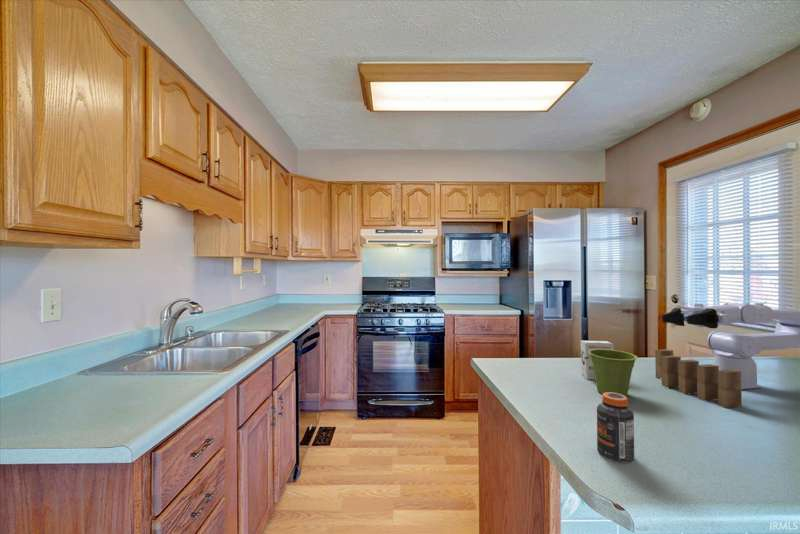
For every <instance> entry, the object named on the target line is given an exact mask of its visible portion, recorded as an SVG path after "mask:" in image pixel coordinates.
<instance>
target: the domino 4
mask: <svg viewBox="0 0 800 534" xmlns="http://www.w3.org/2000/svg"><path fill="white" fill-rule="evenodd" d="M718 370H719V366H717V365H715V364H713V363H711V364H710V363H709V364H699V365H697V393H696V394H697V399H698V398H699V399H698V400H701V399H702V400H701V401H704V400H708V401H715V399H717V400H718Z"/></svg>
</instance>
